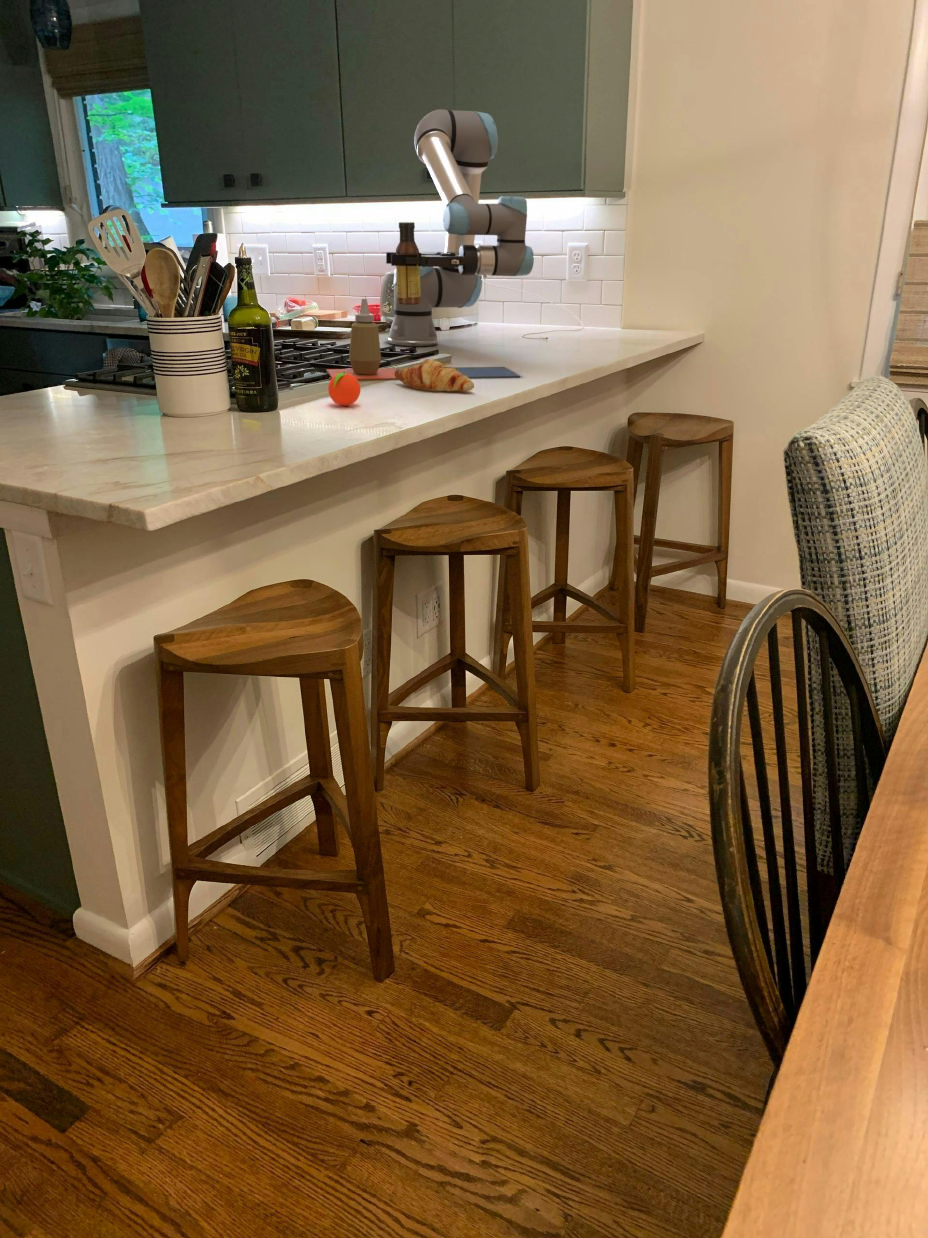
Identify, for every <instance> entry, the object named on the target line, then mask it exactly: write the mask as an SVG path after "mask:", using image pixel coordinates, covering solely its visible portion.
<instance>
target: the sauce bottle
mask: <svg viewBox="0 0 928 1238" xmlns="http://www.w3.org/2000/svg"><path fill="white" fill-rule="evenodd" d="M415 228H416V225H415V222H414V221H399V222H398V230H399V242H398V244H397V246H396V248H395V253H396V254H407V255H417V258H418V252H420V249H419V247H418V245H417V243H416V240H415ZM395 269H396V279H397V298H398V303H400V304H406V305H414V304H419V303H420V296H421V288H420V266H418V264H417V266H395Z"/></svg>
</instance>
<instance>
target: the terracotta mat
mask: <svg viewBox="0 0 928 1238" xmlns="http://www.w3.org/2000/svg"><path fill="white" fill-rule="evenodd" d="M395 371H398V370H397V369H396V368H394V367H393V368H389V367H388V368H387V367H386V368H385V367H384V368H378V371H377V373H376V374H372V375H360V374H356V373H354V371H353V368H327V369H326V371H325V372H327V374H328V375H329V377H330V378H331V379H332V378H333V377H334V376H335V375H336V374H339V373H344V372H345V373H349V374H351V375H353V376H354V377H355V378H356V379H357V380H358V381H394V380H397V381H399V380H398V379H397V378H396V377H395Z"/></svg>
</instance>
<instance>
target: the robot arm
mask: <svg viewBox="0 0 928 1238" xmlns="http://www.w3.org/2000/svg"><path fill="white" fill-rule="evenodd" d="M498 137H499V136H498V130H497V126H496V122H495V120H494V118H493V117H492V116H491V114H490V113H486V112H482V111H475V110H454V109H435V110H433V111H431V112H429V113H427V114H426V115H425V116H423V118H421V120H420V121H419V122H418V124H417V126H416V129H415V131H414V136H413V143H414V149H415V153H416V155H417V157H418V159H419V160H420V161H421V162H422V163H423V164H425V165H426V168H427V170H428V172H429V174H430V177H431V178H432V180H433V183H434V185H435V188H436V190H437V192H438V194H439V196H440V198H441V201H442V203H443V205H444V208H443V212H442V223H443V229H444V231H445V234H446V235H445V245H444V251H437V252H420V251H419V252H418V258H417V255H407V254H396V251H395V252H393V251H392V252H391V251H390V252H389V251H388V252H387V251H386V252H385V263H386V264H387V265H388V264H389V265H391V267H396V266H417V264H418V266H420V288H421V296H420V303H419V304H414V305H406V304H400V303H398V298H397V279H396V268H395V269H394V274H393V275H394V276H393V283H392V285H393V319H392V323H391V325H390V326H391V327H390V328H389V333H388V337H387V342H388V344H390V345H393V346H401V347H431V346H436V345H438V334H437V331H436V328H435V323H434V321H433V309H434V308H436V309H437V308H439V309H441V308H457V309H462V308H470V307H473V306H475V304H477V302H478V301H479V298H480V296H481V292H482V287H483V280H482V277H483V279H486V278H487V277H488V276H491V277H522V276H528V275H530V274H531V273H532V271H533V267H534V262H535V257H534V250H533V249H532V247H531V246H529V245H526V232H527V221H528V220H527V218H528V202H527V199H526V198H525V197H524V196H507V195H506V196H505V195H504V196H503V195H501V196H499V198H498V201H497V203H479V201H480V191H481V182H482V173H483V172H484V171H485V170H486V169H487V168H488V166H489V165H488V164H489V160H492V159H494V158H495V157H496V154H497V152H498V147H499V146H498V145H499V138H498ZM476 236H496V245H493V244H477V245H475V239H476Z"/></svg>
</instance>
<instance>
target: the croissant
mask: <svg viewBox="0 0 928 1238" xmlns="http://www.w3.org/2000/svg"><path fill="white" fill-rule="evenodd" d="M395 377H396V378H397V379H398V380H397V381H399V382H401V383H402V384H403V385H405V386H406V387H408V388H414V389H416V390H420V391H421V390H422V391H423V390H425V391H429V392H458V391H459V392H469V391H471V390H473V389H474V388H475V383H474V382H473V381H472V380H471V378H468V377H467V376H466V375H462V374H460V372H459V371H458V370H457V369H456V367H451V366H445V364H444V363H442V362H440V361H438V360H435V359H429V358H428V359H427V358H426V359H425V360H423V361H422V362H421V364H418V363H416V364H414V365H412V367H410V368H408V367H404V368H403V369H401V370H397V371H395Z"/></svg>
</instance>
